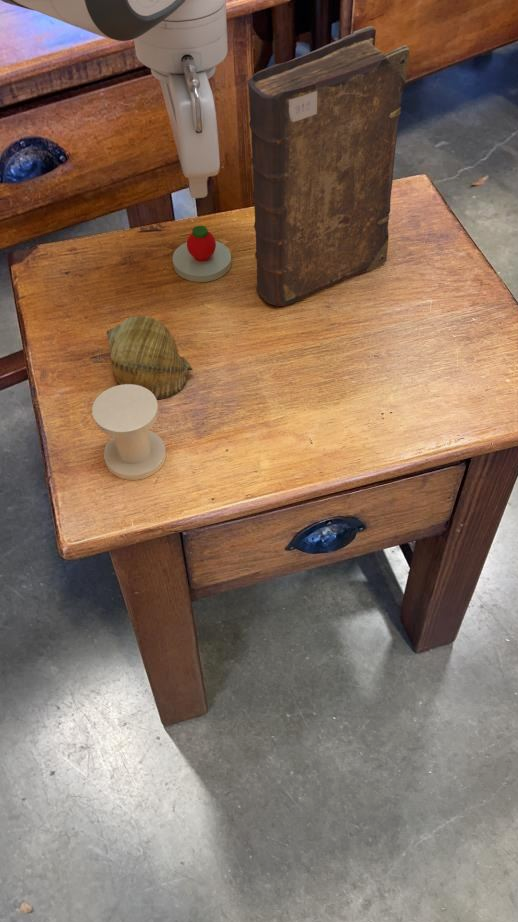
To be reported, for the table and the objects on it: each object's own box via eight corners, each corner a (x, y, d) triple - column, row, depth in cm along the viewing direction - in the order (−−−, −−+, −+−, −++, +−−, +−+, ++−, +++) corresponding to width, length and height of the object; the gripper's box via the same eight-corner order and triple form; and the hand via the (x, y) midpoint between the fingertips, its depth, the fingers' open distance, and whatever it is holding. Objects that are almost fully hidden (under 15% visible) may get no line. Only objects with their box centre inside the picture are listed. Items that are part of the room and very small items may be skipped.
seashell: (187, 403, 91) (207, 333, 89) (174, 413, 85) (195, 337, 82) (103, 375, 91) (121, 304, 89) (83, 382, 84) (102, 306, 82)
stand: (107, 484, 80) (94, 436, 74) (102, 438, 83) (89, 389, 77) (169, 474, 80) (161, 426, 75) (162, 429, 84) (153, 379, 78)
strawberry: (218, 263, 98) (216, 237, 95) (190, 267, 97) (187, 240, 94) (214, 246, 100) (212, 219, 97) (186, 249, 99) (183, 223, 96)
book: (271, 313, 94) (268, 95, 74) (240, 279, 98) (230, 61, 78) (391, 266, 99) (419, 50, 79) (357, 235, 103) (377, 20, 83)
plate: (177, 285, 97) (176, 278, 96) (169, 249, 101) (168, 242, 100) (236, 278, 98) (235, 271, 97) (226, 242, 102) (225, 235, 101)
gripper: (232, 84, 73) (237, 222, 84) (197, -14, 85) (206, 119, 96) (160, 90, 72) (175, 229, 83) (135, -9, 84) (151, 124, 95)
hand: (191, 169), depth 89 cm, fingers open, 8 cm apart
